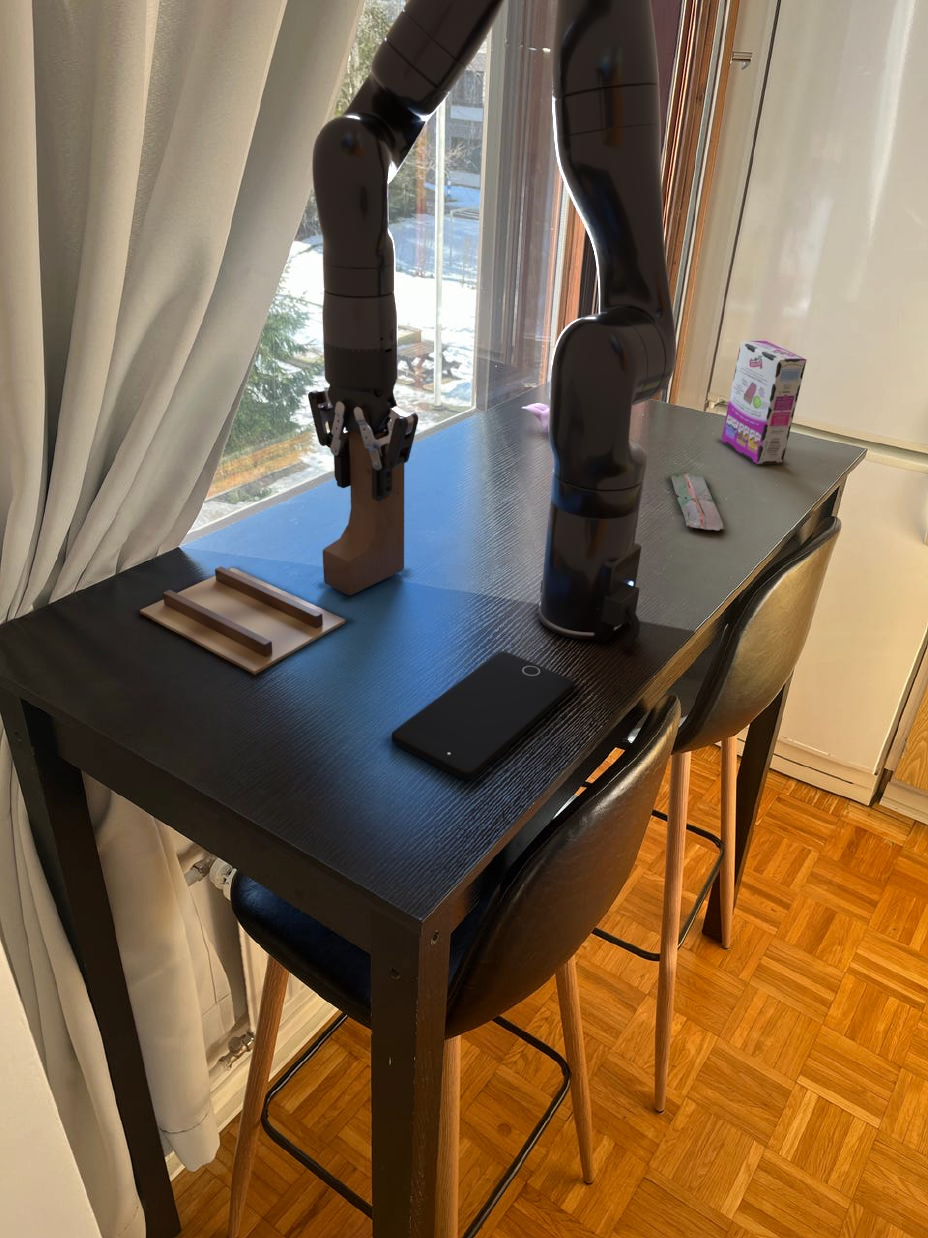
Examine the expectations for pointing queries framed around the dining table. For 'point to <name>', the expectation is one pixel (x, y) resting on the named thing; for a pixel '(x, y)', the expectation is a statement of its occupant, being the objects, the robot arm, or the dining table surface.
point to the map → (696, 502)
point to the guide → (242, 619)
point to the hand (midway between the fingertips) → (363, 491)
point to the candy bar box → (763, 401)
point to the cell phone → (482, 714)
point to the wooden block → (367, 528)
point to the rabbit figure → (540, 413)
